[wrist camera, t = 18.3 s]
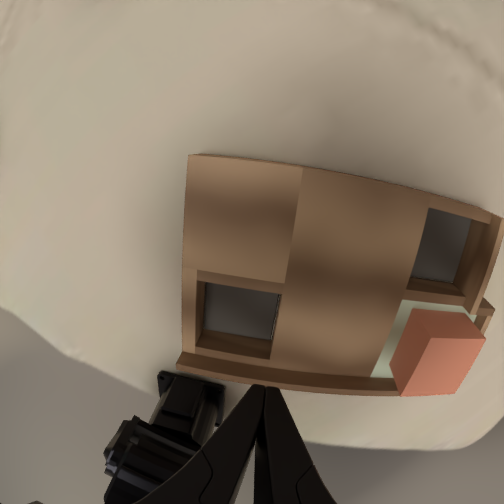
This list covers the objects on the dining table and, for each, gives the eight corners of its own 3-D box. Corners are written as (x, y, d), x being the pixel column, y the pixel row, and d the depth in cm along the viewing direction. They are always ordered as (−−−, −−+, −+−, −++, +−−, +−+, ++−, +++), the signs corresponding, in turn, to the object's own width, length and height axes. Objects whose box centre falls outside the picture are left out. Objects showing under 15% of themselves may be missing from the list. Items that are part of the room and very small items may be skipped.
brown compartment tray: (437, 365, 22) (452, 393, 18) (191, 339, 23) (176, 369, 20) (496, 213, 17) (525, 227, 13) (200, 153, 18) (179, 155, 15)
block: (439, 364, 19) (454, 393, 16) (388, 364, 19) (400, 396, 16) (464, 312, 17) (486, 338, 14) (412, 308, 18) (430, 337, 14)
